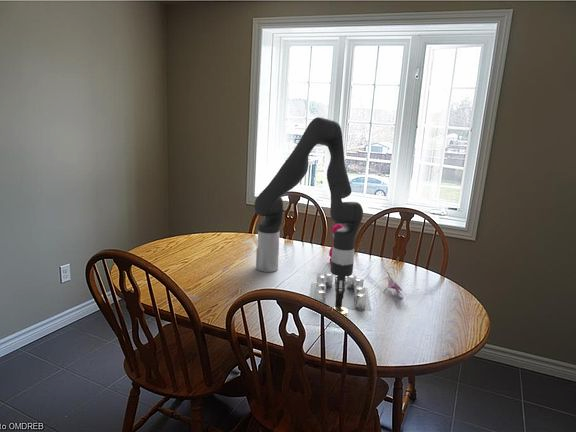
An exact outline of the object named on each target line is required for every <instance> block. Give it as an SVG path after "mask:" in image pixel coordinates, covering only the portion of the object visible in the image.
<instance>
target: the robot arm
mask: <svg viewBox="0 0 576 432" xmlns="http://www.w3.org/2000/svg"><path fill="white" fill-rule="evenodd" d="M296 144H297V145H296V146H295V147H294V148H293V150H292V152H291V153H290V154H289V156H288V158H287V159H286V160H285V161H284V162H283V164H282V165H281V167H280V168H279V170H278V171H277V173H276V174H275V175H274V177H273V179H271V180H270V182H269V183H268V184H267V186H266V187H265V188H264V189H263V190H261V192H260V193H259V194H258V195H257V197H256V198H255V201H254V207H253V208H254V211H255V214H257V215H258V216H260V217H265V218H264V219H263V220H261V221H260V222H259V223H258V224H257V248H256V254H255V256H256V258H255V270H256V271H260V272H265V273H272V272H276V271H277V270H279V256H280V255H279V254H280V251H279V250H280V230H281V226H282V224H283V223H282V221H283V213H284V202H283V198H282V196H283V195H285V194H286V193H287V192H289V191H290V190H292V189H294V187H296V186H297V185H298V184H299V183H300V182H301V181H302V179H303V178H304V177H305V176H306V175H307V173H308V170H309V156H310V154H311V152H312V150H313V149H314V148H315V147H316V146H317V145H321V146H325V147H327V148H328V151H329V155H330V160H329V163H328V166H327V170H326V180H327V184H328V188H329V192H330V209H329V210H330V211H329V214H330V218H331V220H332V221H333V222H334V223H335V224H341V225H343V224H345V225H343V226H344V227H343V228H341V229H338V230H336V231H335V233H334V238H333V242H332V245H333V250H332V257H330V258H331V263H330V273H332V274H333V276H334V285H335V292H336V293H335V294H336V295H335V297H336V302H335V307H342V299H343V298H344V293H345V286H346V283H347V276H350V275H353V272H354V263H355V262H354V261H355V244H356V236H357V233H358V230H359V228H360V226H361V222H362V220H363V218H364V217H363V216H364V210H363V206H362V205H361V203H359V202H358V201H342V199H345V198H347V197H349V196H350V195H351V194H352V186H351V183H350V179H349V176H348V172H347V168H346V159H345V149H344V140H343V132H342V127H341V124H340V123H338V121H335V120H332V119H329V118H325V117H321V116H319V117H318V116H317V117H314V118H313V119H312V120H311V121H310V122H309V124H308V125H307V127H306V128H305V130H304V132H303V134H302V136H301V137H300V139H299V141H298V143H296Z"/></svg>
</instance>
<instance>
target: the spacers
mask: <svg viewBox="0 0 576 432" xmlns="http://www.w3.org/2000/svg"><path fill="white" fill-rule="evenodd" d="M316 276H317V277H316V283H317V284H316V291H315V299H317V300H319V301H321V302H323V303H325V296H326V288H332V285H334V284H333V282H334V274H332V273H331V272H325V273H323V274H319V275H316ZM346 277H347V279H346V280H347V283H346V289H348V290H353V293H354V302H355V311H358V312H363V311H364V310H365V304H366V295H365V288H366V287H365V288H364V279H363V278H360V277H357V275H355V274H352V275H350V276H346Z"/></svg>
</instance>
